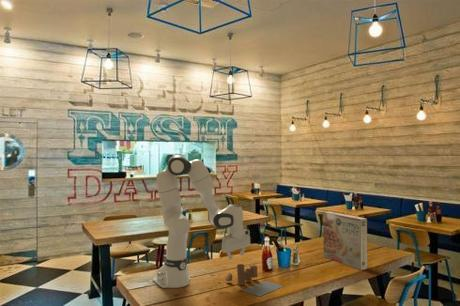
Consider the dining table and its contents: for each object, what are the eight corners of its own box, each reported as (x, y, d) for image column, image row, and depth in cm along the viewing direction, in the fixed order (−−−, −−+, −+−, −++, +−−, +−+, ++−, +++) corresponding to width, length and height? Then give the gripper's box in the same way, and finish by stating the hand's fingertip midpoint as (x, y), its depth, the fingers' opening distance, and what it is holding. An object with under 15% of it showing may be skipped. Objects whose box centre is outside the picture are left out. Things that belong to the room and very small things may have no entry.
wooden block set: (253, 278, 208) (252, 259, 209) (261, 281, 200) (260, 262, 201) (225, 283, 201) (224, 264, 201) (231, 287, 193) (230, 267, 193)
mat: (242, 290, 188) (242, 290, 188) (266, 281, 203) (266, 280, 203) (259, 296, 180) (259, 296, 180) (283, 286, 194) (283, 286, 194)
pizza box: (323, 259, 245) (323, 212, 246) (329, 258, 248) (329, 211, 248) (360, 272, 217) (360, 219, 217) (367, 271, 220) (366, 218, 220)
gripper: (226, 236, 196) (227, 262, 196) (251, 230, 211) (252, 254, 211) (218, 235, 201) (219, 260, 201) (243, 229, 215) (244, 252, 215)
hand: (236, 257), depth 206 cm, fingers open, 8 cm apart
